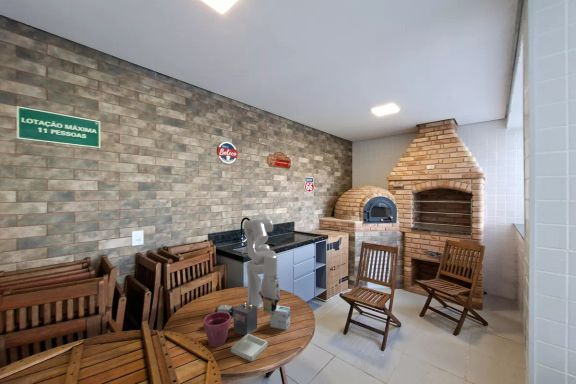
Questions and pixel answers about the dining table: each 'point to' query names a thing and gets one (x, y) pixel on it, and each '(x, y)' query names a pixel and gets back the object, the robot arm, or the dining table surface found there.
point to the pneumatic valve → (226, 309)
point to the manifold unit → (245, 319)
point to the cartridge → (268, 305)
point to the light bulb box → (280, 317)
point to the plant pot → (217, 328)
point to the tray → (249, 347)
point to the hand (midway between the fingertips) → (269, 308)
